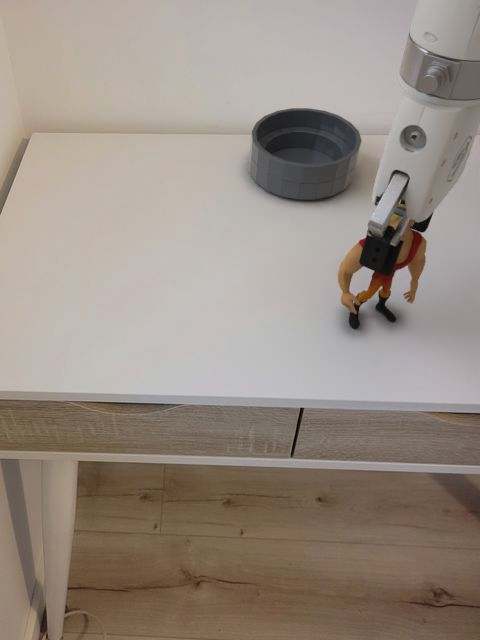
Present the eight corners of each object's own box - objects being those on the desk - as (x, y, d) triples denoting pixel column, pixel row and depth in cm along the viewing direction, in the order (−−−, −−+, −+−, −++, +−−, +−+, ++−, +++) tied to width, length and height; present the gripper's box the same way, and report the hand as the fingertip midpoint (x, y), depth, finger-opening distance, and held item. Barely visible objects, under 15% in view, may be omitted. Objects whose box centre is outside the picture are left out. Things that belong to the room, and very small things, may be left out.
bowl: (282, 133, 91) (287, 97, 87) (370, 165, 85) (379, 129, 81) (229, 178, 84) (231, 142, 80) (320, 216, 78) (327, 179, 74)
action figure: (335, 337, 65) (366, 225, 54) (322, 313, 67) (350, 201, 56) (417, 321, 66) (464, 209, 55) (402, 299, 69) (444, 186, 57)
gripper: (459, 130, 40) (390, 316, 53) (542, 35, 48) (464, 216, 62) (354, 96, 43) (314, 281, 56) (450, 12, 51) (395, 190, 65)
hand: (393, 246), depth 59 cm, fingers open, 7 cm apart
